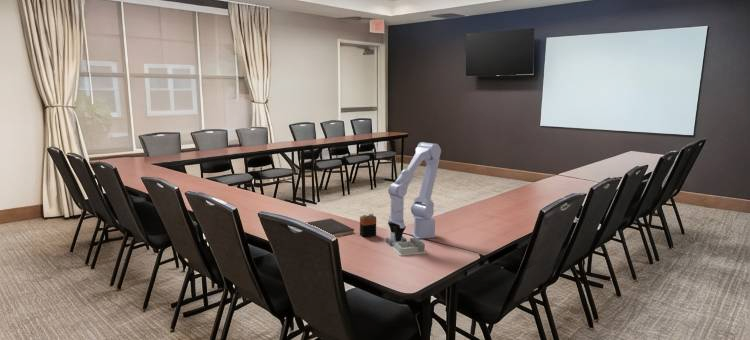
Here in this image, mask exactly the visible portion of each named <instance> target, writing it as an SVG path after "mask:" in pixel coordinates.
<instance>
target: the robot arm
mask: <svg viewBox="0 0 750 340" xmlns="http://www.w3.org/2000/svg"><path fill="white" fill-rule="evenodd" d="M441 153H442V149H441V147H440V145H439V144H438V143H433V142H432V143H431V142H424V141H421V142H419V143H418V144H417V147H415V153H414V155H413V157H412V159H411V160H410V163H409V164H408V166H407V167H406V168H405V169H402V170H401V171H400V174H399V176H398V177H397V178H396V180H395V181H394V182H393V183H391V184H390V185H389V187H388V189H387V193H388V194H389V199H390V214H389V215H388V217H389V219H387V221H388V222H387V225H388V227H389V230H390V233H391V232H395V239H396V241H401V238H402V236H403V234H404V231H405V230H406V229H407V226H406V223H405V219H404V204H405V202H404V201H405V196H406V195H407V193H408V188H409V185H410V183H411V181H412V180H413V179H414V177H415V176H414V175H415V174H414V173H415V172H416V170H417V169H418V167H419V166H420V165H421V164H422V162H423V161H424V162H425V163H426V165H425V170H424V174H423V179H422V183H421V187H420V191H419V195H418V196H417V197H416V198H414V200H413V203H412V204H411V208H410V212H411V214H412V215H413V217H414V220H413V223H414V224H413V232H410V235H411V236H413V238H418V239H419V240H422V239H429V238H430V239H431V238H436V220H435V218H434V216H433V215H434V212H435V210H434V207H435V203H434V201H433V200H432V199H431V198H432V194H433V189H434V186H435V181H436V177H437V172H438V167H439V164H440V157H441Z"/></svg>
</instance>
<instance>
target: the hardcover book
mask: <svg viewBox="0 0 750 340" xmlns="http://www.w3.org/2000/svg"><path fill="white" fill-rule="evenodd" d="M306 223H308V224H310V225H313V226H316V227H318V228H320V229H322V230H324V231H326V232H328V233H330V234H332V235H334V236H335V237H340V236H345V235H351V234H354V231H355V229H354V228H352V227H350V226H349V225H346V224H344V223H342V222H339V221H338V220H336V219H334V218H326V219H320V220H315V221H308V222H306Z"/></svg>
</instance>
